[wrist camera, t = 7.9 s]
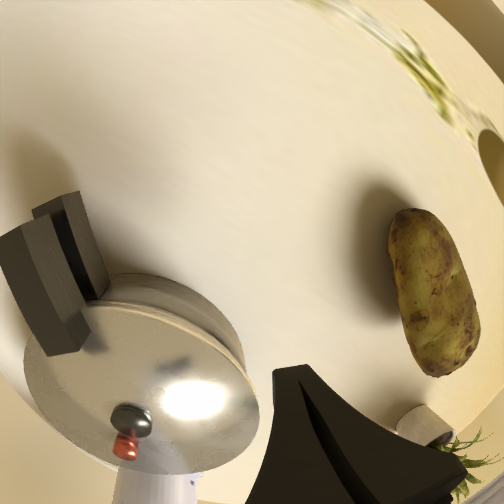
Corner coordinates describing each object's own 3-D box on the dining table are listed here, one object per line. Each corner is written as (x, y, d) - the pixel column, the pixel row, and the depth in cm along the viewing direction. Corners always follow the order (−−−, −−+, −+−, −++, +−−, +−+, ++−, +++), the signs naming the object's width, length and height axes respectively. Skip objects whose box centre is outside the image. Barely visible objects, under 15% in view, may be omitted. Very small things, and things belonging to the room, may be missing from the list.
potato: (449, 199, 20) (520, 220, 13) (432, 328, 24) (480, 372, 17) (372, 204, 19) (447, 230, 12) (363, 349, 23) (406, 410, 16)
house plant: (472, 376, 29) (534, 442, 13) (420, 441, 32) (463, 509, 17) (417, 374, 26) (496, 475, 10) (355, 450, 29) (398, 544, 14)
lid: (280, 450, 19) (286, 475, 17) (106, 469, 19) (102, 490, 16) (175, 161, 12) (164, 161, 10) (-37, 263, 12) (-60, 277, 9)
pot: (264, 407, 24) (273, 448, 19) (114, 428, 23) (104, 464, 19) (187, 154, 17) (176, 151, 12) (4, 228, 16) (-35, 246, 12)
